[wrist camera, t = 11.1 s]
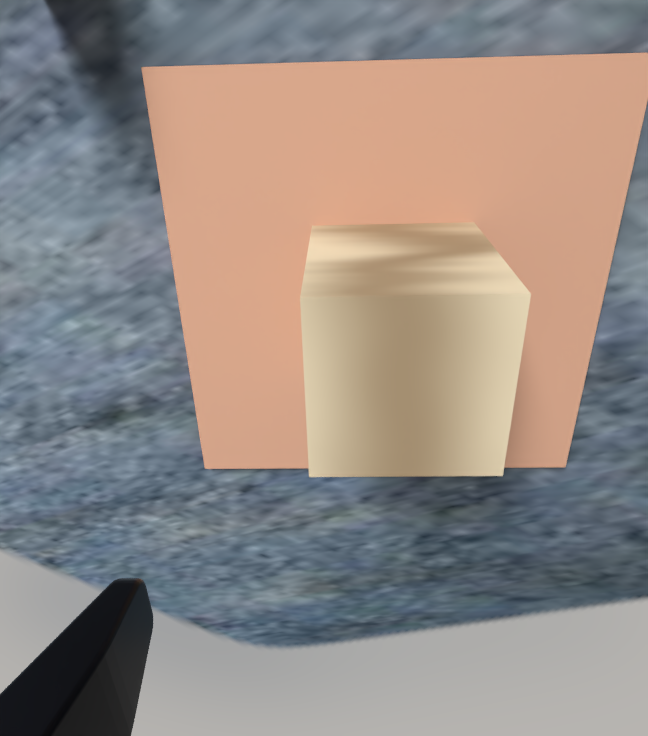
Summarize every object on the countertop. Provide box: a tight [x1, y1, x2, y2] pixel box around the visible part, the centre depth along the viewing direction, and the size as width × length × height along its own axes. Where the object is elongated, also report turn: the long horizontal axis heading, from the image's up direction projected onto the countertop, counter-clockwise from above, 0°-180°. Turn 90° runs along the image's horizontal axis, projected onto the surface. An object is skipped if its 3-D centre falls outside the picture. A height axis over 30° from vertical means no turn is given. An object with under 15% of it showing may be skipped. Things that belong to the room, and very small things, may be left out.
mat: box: [141, 53, 648, 469], centre depth 19 cm, size 14×14×1 cm
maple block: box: [300, 222, 531, 477], centre depth 16 cm, size 5×5×6 cm
